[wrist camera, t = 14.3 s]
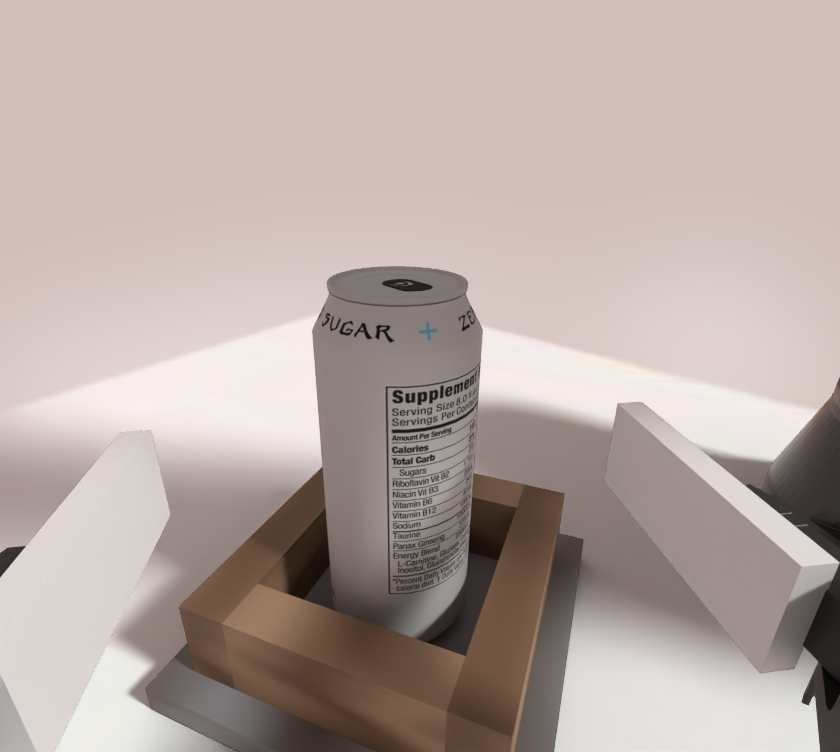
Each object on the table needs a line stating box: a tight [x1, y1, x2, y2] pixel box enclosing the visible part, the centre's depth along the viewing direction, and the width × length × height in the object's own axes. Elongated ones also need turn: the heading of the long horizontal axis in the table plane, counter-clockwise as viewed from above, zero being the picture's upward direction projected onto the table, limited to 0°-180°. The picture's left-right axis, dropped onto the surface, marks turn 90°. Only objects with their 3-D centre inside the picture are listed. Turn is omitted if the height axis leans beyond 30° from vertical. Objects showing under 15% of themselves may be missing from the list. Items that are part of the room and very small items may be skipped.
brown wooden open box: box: [145, 467, 583, 752], centre depth 23 cm, size 15×15×5 cm
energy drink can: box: [312, 266, 483, 643], centre depth 20 cm, size 6×6×15 cm
